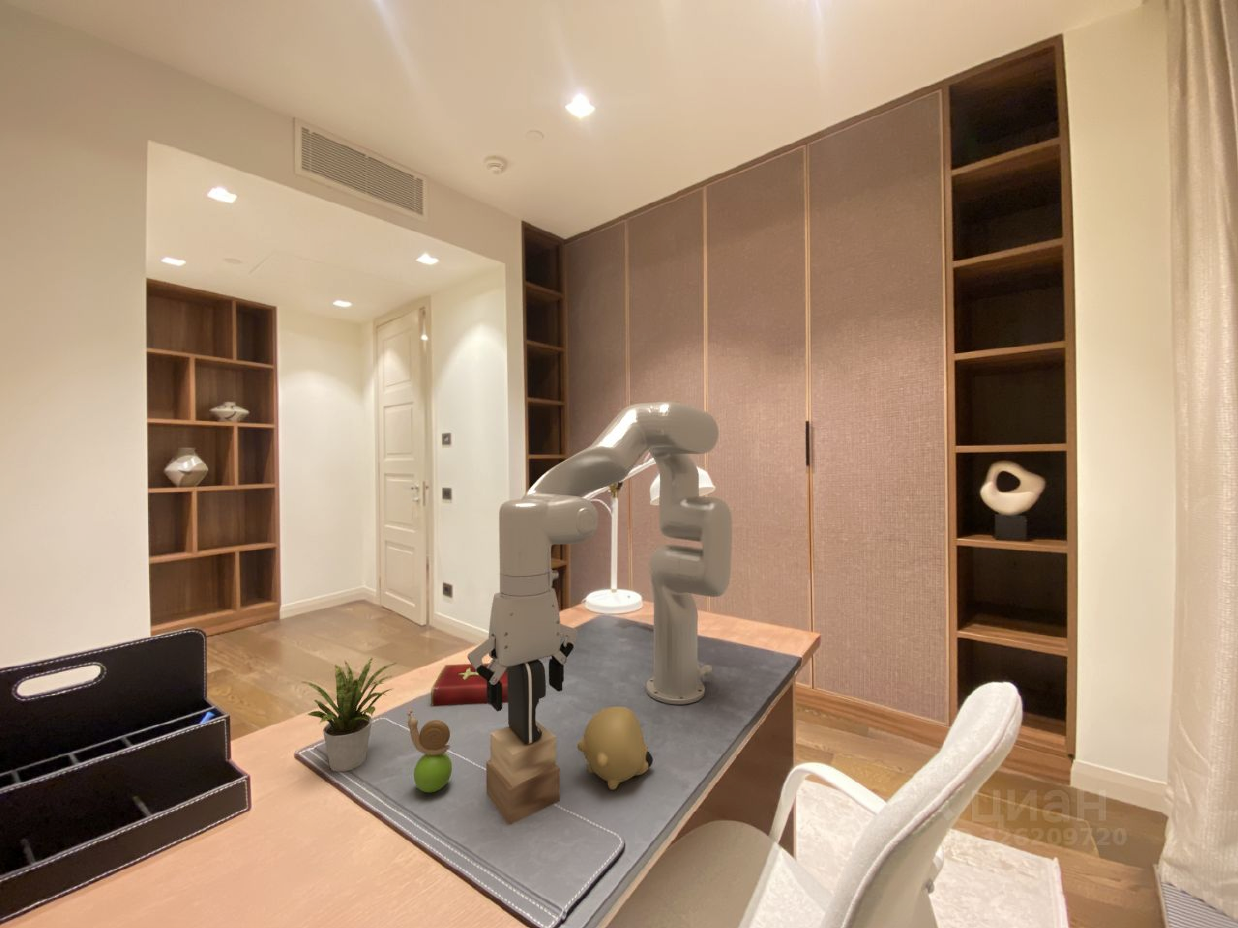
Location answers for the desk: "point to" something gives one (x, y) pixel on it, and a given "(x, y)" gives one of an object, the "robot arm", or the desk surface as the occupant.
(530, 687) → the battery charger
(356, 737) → the house plant
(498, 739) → the oak block
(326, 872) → the desk surface
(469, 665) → the hardcover book
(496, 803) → the walnut block
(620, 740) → the toy pig
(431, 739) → the snail figurine
